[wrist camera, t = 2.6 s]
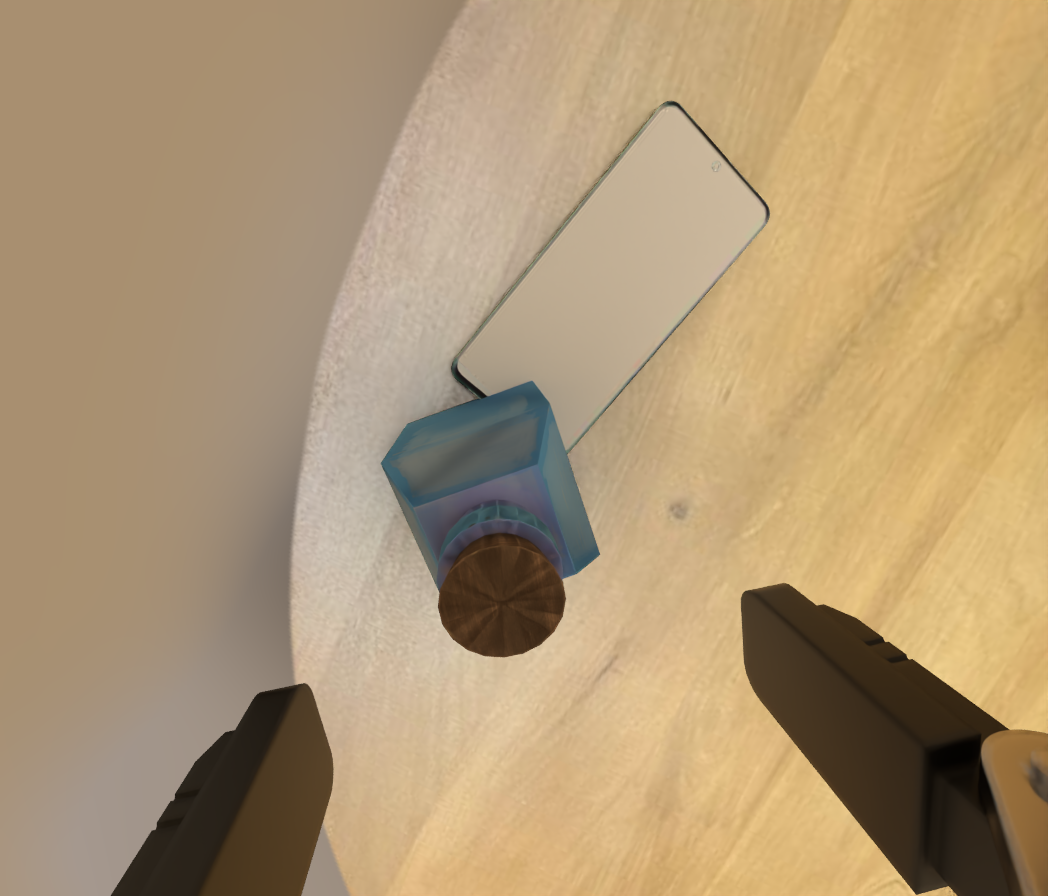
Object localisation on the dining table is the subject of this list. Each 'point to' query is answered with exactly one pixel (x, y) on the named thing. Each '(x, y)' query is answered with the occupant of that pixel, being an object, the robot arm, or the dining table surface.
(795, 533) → the dining table surface
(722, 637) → the dining table surface
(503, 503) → the perfume bottle
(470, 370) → the smartphone
